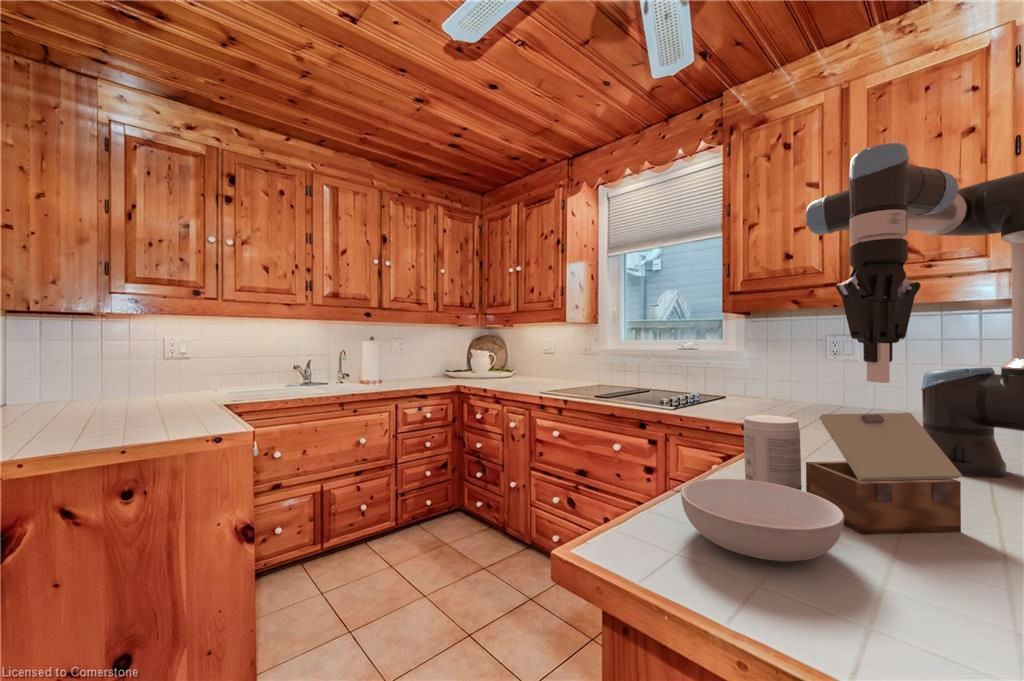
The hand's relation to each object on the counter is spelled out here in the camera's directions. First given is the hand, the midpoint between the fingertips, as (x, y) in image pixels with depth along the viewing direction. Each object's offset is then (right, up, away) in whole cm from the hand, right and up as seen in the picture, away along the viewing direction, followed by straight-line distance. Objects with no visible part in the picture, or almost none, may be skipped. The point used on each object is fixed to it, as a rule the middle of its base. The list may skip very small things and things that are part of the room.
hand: (877, 381), depth 73 cm
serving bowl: (-25, -24, -8) cm, 36 cm away
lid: (0, -11, -1) cm, 11 cm away
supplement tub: (-10, -23, +13) cm, 28 cm away
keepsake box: (0, -23, +1) cm, 23 cm away
